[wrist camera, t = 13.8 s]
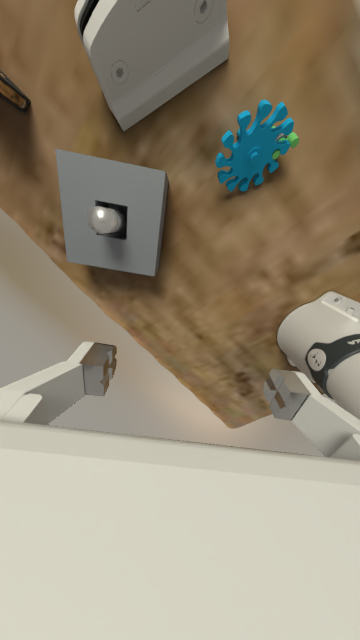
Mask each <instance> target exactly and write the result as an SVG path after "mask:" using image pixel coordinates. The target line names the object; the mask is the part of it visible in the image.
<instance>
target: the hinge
mask: <svg viewBox="0 0 360 640" xmlns="http://www.w3.org/2000/svg"><path fill="white" fill-rule="evenodd" d="M75 20H76V25H77V29H78V33H79V36H80V39H81V41H82V43H83V46H84V48H85V51H86V53H87V56H88V58H89V60H90V63H91V65H92V68H93V70H94V73H95V75H96V77H97V80H98V82H99V85H100V87H101V89H102V92H103V94H104V97H105V99H106V101H107V104H108V106H109V108H110V110H111V111H112V113H113V114H114V116H115V118H116V119H117V121H118V123H119V124H120V126H121V128H122V130H123V131H125V130H127V129H128V128H130V127H131V126H133V125H134V124H135V123H137V122H138V121H140V120H141V119H142V118H144V117H145V116H147V115H148V114H150V113H151V112H152V111H154V110H155V109H157V108H158V107H160V106H161V105H162V104H164V103H165V102H167V101H168V100H170V99H171V98H172V97H174V96H175V95H177V94H178V93H180V92H181V91H182V90H184V89H185V88H187V87H188V86H190V85H191V84H192V83H194V82H195V81H197V80H198V79H200V78H201V77H202V76H204V75H205V74H207V73H208V72H210V71H211V70H212V69H214V68H215V67H217V66H218V65H220V64H221V63H222V62H224V61H225V60H227V59H228V56H229V32H228V23H227V1H226V0H78V2H77V4H76V7H75Z"/></svg>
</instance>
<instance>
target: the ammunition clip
mask: <svg viewBox="0 0 360 640" xmlns="http://www.w3.org/2000/svg"><path fill="white" fill-rule="evenodd" d="M0 97H1V98H3V99H4V100H6V101H7V102H8V103H10V104H11V105H13V106H14V107H15V108H17V109H18V110H20V111H21V112H23V113H24V114H25V113H26V111H27V108H28V106H29V104H30V100H29V99H28V98H27V97H26V96H25V95H24V94H23V93H22V92H21V91H20V90H19V88H18V87H17V86H16V85H15V84H14V83H13V82H12V81H11V80H10V79H9V78H8V77H7V76H6V75H5V74H4V73H3V72H2V71H1V70H0Z"/></svg>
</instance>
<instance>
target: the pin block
mask: <svg viewBox="0 0 360 640" xmlns="http://www.w3.org/2000/svg"><path fill="white" fill-rule="evenodd" d="M55 150H56V159H57V169H58V178H59V188H60V197H61V207H62V217H63V226H64V236H65V245H66V255H67V262H72V263H78V264H84V265H90V266H96V267H102V268H107V269H113V270H119V271H125V272H131V273H137V274H143V275H149V276H155V274H156V272H157V271H158V269H159V260H160V252H161V243H162V234H163V226H164V217H165V208H166V200H167V191H168V182H169V180H168V177H167V174H166V171H161V170H156V169H151V168H146V167H141V166H137V165H132V164H127V163H122V162H117V161H113V160H108V159H103V158H98V157H93V156H88V155H84V154H79V153H74V152H69V151H64V150H59V149H55ZM94 206H99V207H104V208H109V209H115V210H120V211H124V212H126V213H127V230H126V231H120V232H112V233H105V234H98V233H96V232H94V231H93V230H92V229H91V228H90V227H89V225H88V223H87V212H88V210H89V209H90V208H92V207H94Z"/></svg>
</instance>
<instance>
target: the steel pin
mask: <svg viewBox="0 0 360 640" xmlns="http://www.w3.org/2000/svg"><path fill="white" fill-rule="evenodd" d="M87 223H88V225H89V227H90V228H91V229H92V230H93V231H94V232H96V233H98V234H105V233H112V232H120V231H126V230H127V213H126V212H124V211H120V210H115V209H109V208H104V207H99V206H94V207H92V208H90V209H89V210H88V212H87Z"/></svg>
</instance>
